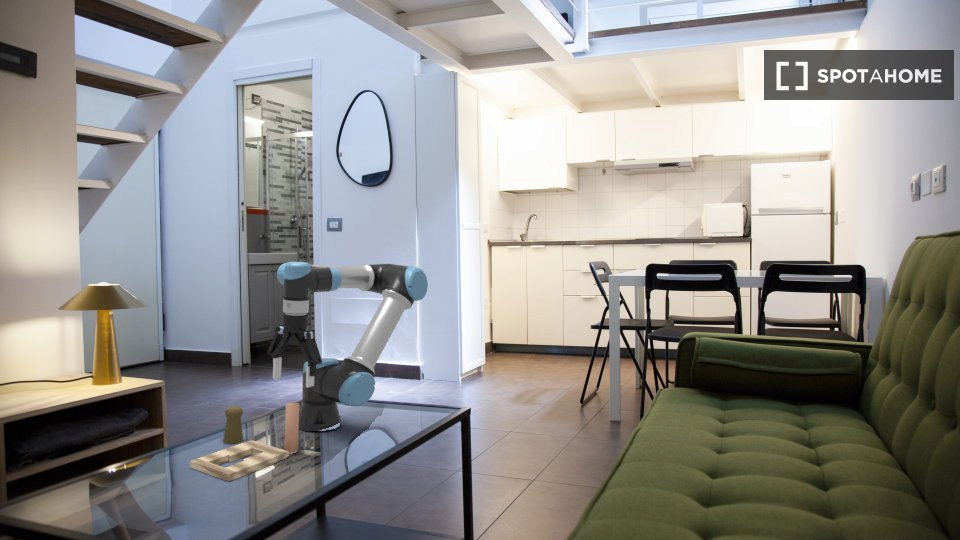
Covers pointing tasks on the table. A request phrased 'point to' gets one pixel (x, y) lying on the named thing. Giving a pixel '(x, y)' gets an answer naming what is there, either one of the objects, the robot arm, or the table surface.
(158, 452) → the table surface
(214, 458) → the keyhole board
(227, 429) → the cork
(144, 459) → the table surface
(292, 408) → the peg
